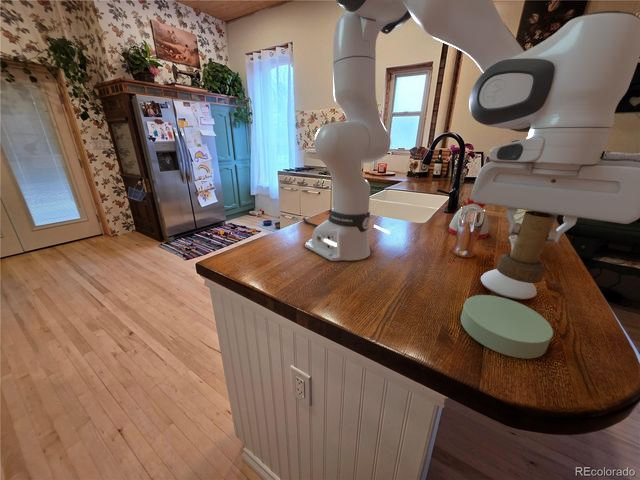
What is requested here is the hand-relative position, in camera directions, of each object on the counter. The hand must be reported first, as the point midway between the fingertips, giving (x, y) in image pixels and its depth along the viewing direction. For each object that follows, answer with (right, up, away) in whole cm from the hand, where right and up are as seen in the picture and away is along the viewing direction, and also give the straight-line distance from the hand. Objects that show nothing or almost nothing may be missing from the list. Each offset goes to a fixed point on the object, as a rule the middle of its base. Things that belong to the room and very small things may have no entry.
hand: (531, 237), depth 43 cm
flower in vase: (+10, -14, +20) cm, 26 cm away
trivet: (0, -18, +7) cm, 20 cm away
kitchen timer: (+24, +2, +60) cm, 65 cm away
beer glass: (+11, -5, +41) cm, 43 cm away
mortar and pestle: (0, -7, +3) cm, 7 cm away
